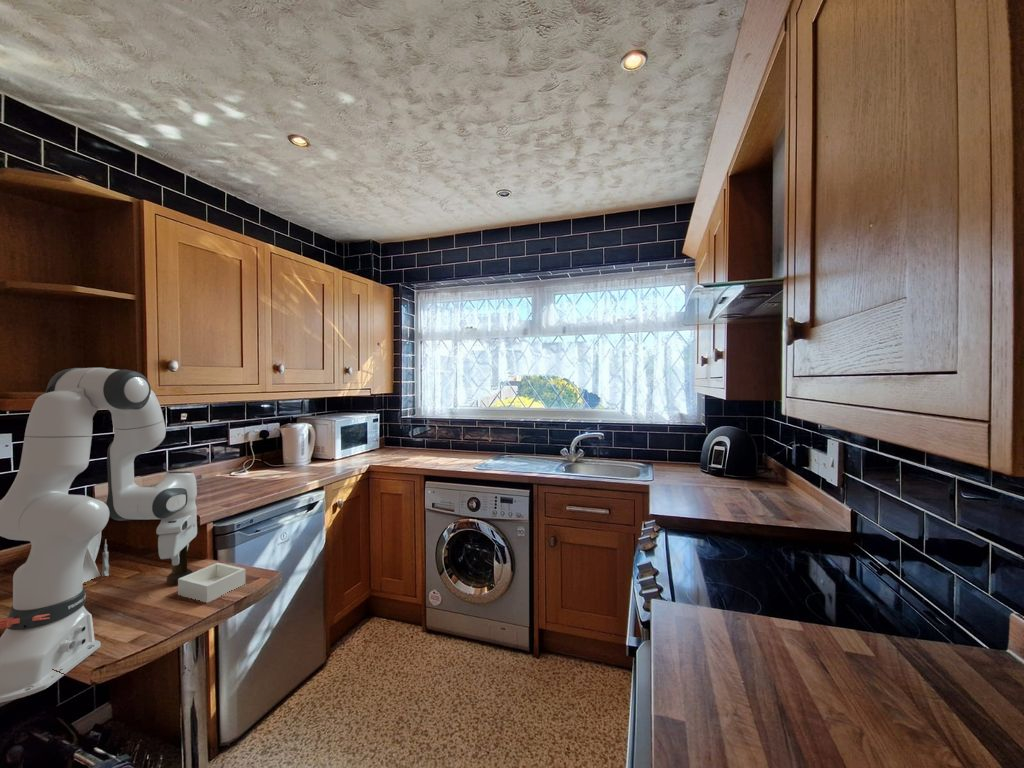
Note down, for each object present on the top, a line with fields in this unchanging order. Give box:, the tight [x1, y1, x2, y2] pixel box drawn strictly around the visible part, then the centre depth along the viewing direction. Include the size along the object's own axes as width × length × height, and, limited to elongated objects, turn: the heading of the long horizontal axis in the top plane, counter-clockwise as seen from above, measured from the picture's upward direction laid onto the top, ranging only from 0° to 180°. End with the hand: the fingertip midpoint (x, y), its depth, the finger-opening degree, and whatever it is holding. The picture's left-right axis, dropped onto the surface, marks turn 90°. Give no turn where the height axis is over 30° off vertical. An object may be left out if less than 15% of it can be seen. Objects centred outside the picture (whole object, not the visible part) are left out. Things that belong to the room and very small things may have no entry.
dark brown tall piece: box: [166, 546, 193, 587], centre depth 134 cm, size 7×6×18 cm
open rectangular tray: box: [177, 562, 246, 604], centre depth 129 cm, size 12×13×5 cm
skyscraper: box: [83, 531, 111, 583], centre depth 134 cm, size 8×8×28 cm
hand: (179, 561), depth 134 cm, fingers closed on dark brown tall piece, 4 cm apart
